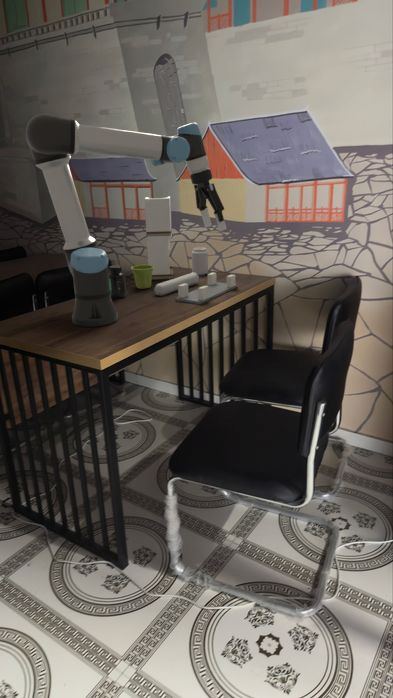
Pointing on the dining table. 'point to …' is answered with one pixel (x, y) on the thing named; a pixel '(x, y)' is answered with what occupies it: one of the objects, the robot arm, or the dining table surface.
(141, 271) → the plant pot
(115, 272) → the supplement bottle
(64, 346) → the dining table surface
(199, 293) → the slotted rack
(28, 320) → the dining table surface
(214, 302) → the dining table surface
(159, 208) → the brown-trimmed grey box
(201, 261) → the can
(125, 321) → the dining table surface
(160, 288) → the tube
